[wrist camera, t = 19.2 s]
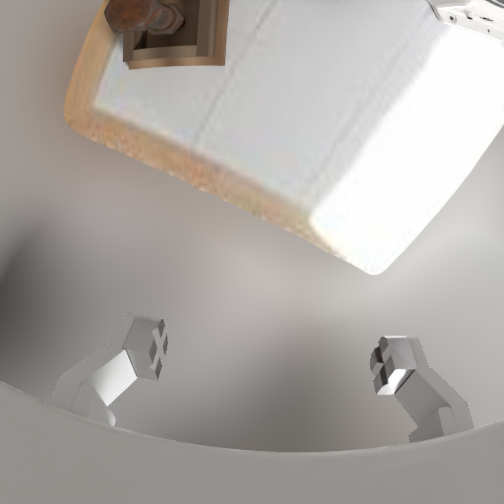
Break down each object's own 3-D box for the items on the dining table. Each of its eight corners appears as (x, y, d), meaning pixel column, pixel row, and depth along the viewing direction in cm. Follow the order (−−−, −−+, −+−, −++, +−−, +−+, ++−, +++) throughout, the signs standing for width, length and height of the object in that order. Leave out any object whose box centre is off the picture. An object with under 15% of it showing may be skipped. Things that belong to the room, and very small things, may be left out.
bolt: (172, -1, 29) (126, -24, 17) (201, 14, 30) (165, -8, 18) (149, 31, 32) (94, 24, 20) (176, 46, 33) (131, 41, 21)
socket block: (231, -21, 28) (225, -33, 23) (224, 65, 36) (217, 65, 31) (136, -13, 28) (120, -20, 23) (132, 69, 36) (114, 71, 31)
